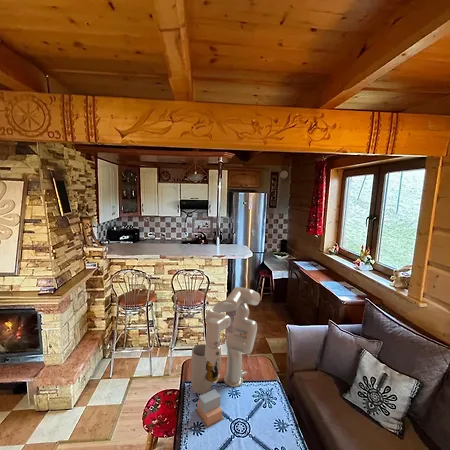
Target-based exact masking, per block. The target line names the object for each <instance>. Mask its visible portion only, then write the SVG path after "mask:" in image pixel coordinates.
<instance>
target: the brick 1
mask: <svg viewBox="0 0 450 450" xmlns="http://www.w3.org/2000/svg"><path fill="white" fill-rule="evenodd" d="M198 401H199V407H200V408H201V410H202V411H203V413H204V414H205V413H207V412H209V411H211V410H213V409H215V408H217V407H219V406H220V407H221V395H220V393H219V392H218V391H217V389H215V388H214V389H212V390H209V391H208V392H206V393H203V394H201V395H199V396H198Z"/></svg>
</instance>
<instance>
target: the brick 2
mask: <svg viewBox="0 0 450 450" xmlns="http://www.w3.org/2000/svg"><path fill="white" fill-rule="evenodd" d="M196 406H197V407H196V409H197V410H198V412H199V414H200V415H201V417H202V418H203V420H204V421H205V423H206V425H207V426H209V425H211V424H213V423H215V422H217V421H218V420H220V419H222V416H223V409H222V408H221V405H220V406H219V407H217V408H215V409H213V410H211V411H209V412H207V413H205V414H204V413H203V411H202V410H201V408H200V407H199V400H198V401H197V403H196Z"/></svg>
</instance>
